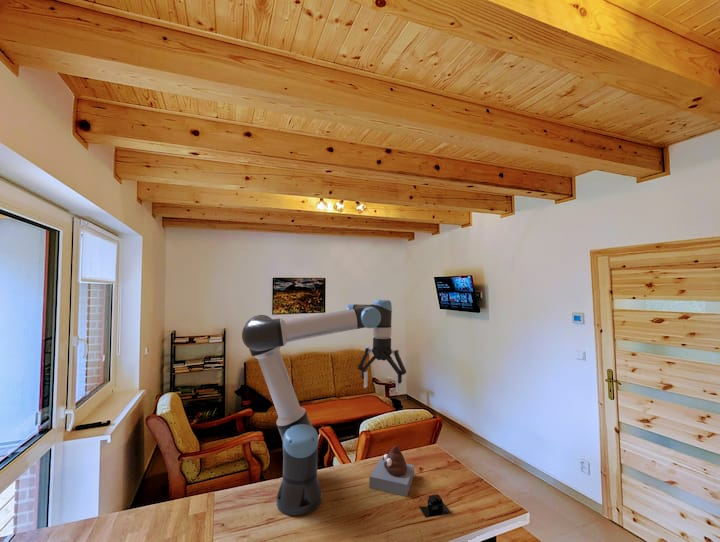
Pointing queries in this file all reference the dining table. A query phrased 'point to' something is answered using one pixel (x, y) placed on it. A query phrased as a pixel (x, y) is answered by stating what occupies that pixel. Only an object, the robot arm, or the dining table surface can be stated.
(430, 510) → the black mounting bracket
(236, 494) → the dining table surface
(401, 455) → the poop emoji
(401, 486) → the grey block
